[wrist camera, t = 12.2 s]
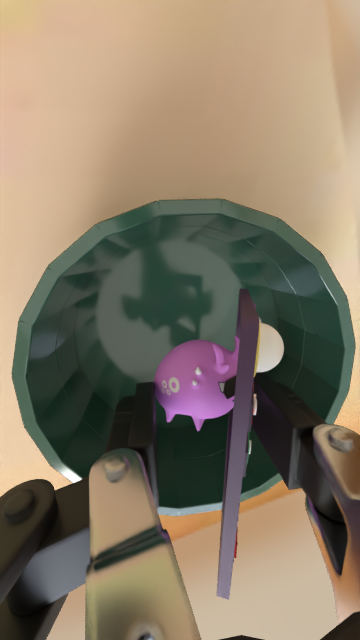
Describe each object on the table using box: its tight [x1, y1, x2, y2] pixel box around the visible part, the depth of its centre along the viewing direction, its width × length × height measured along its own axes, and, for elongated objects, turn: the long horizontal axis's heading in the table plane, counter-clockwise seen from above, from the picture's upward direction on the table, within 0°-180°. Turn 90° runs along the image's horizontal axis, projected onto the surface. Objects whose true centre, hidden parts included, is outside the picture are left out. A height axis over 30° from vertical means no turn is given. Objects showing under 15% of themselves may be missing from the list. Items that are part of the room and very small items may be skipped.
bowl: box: [12, 199, 356, 516], centre depth 15 cm, size 16×16×7 cm
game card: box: [154, 289, 284, 599], centre depth 10 cm, size 7×5×9 cm
